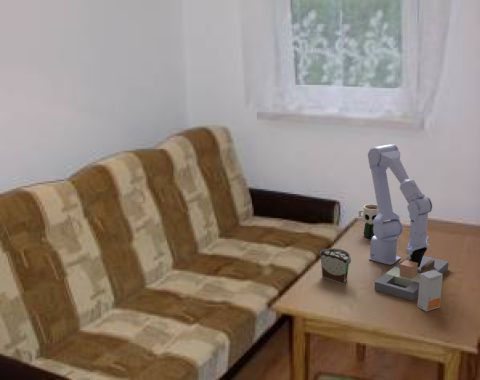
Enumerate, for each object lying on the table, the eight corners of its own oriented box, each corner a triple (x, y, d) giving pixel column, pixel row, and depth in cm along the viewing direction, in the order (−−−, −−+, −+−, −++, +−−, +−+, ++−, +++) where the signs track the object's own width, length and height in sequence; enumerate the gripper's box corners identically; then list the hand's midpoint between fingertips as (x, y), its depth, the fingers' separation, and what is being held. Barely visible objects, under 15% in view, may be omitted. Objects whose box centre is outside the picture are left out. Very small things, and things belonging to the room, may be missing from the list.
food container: (357, 279, 225) (358, 253, 222) (347, 285, 221) (348, 259, 218) (328, 270, 233) (329, 245, 230) (319, 275, 229) (319, 250, 226)
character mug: (356, 237, 262) (357, 208, 258) (359, 231, 269) (360, 202, 265) (383, 240, 259) (384, 210, 255) (385, 234, 265) (386, 205, 261)
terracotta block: (399, 276, 220) (400, 264, 219) (405, 271, 224) (405, 259, 222) (411, 279, 217) (412, 267, 216) (417, 274, 221) (417, 262, 219)
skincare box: (426, 312, 201) (428, 278, 198) (417, 306, 205) (419, 273, 201) (440, 307, 204) (443, 274, 200) (431, 302, 208) (433, 269, 204)
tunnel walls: (400, 268, 226) (401, 261, 225) (410, 260, 232) (410, 254, 231) (424, 274, 221) (425, 268, 220) (434, 266, 226) (434, 260, 226)
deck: (374, 289, 217) (374, 281, 216) (411, 260, 239) (412, 253, 239) (412, 300, 209) (413, 292, 208) (447, 269, 231) (448, 261, 230)
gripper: (420, 239, 213) (418, 276, 217) (437, 227, 224) (435, 262, 228) (401, 235, 217) (399, 271, 222) (418, 223, 228) (416, 257, 232)
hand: (416, 266), depth 225 cm, fingers closed
